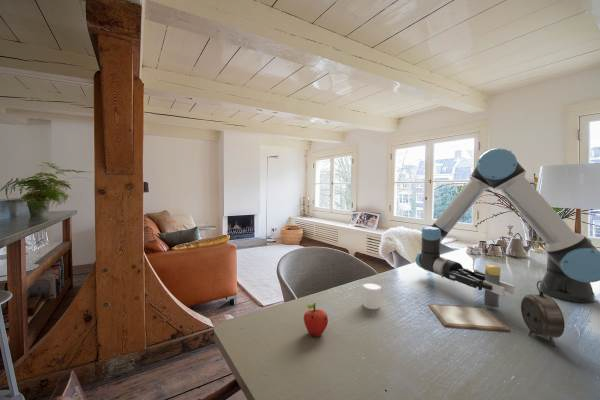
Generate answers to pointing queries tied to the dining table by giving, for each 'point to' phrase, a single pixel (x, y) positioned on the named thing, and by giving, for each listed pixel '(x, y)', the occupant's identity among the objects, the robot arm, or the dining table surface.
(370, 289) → the white cylinder
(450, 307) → the wooden picture frame
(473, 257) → the wineglass
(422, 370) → the dining table surface
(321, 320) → the apple
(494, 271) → the marker
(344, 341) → the dining table surface
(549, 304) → the alarm clock
